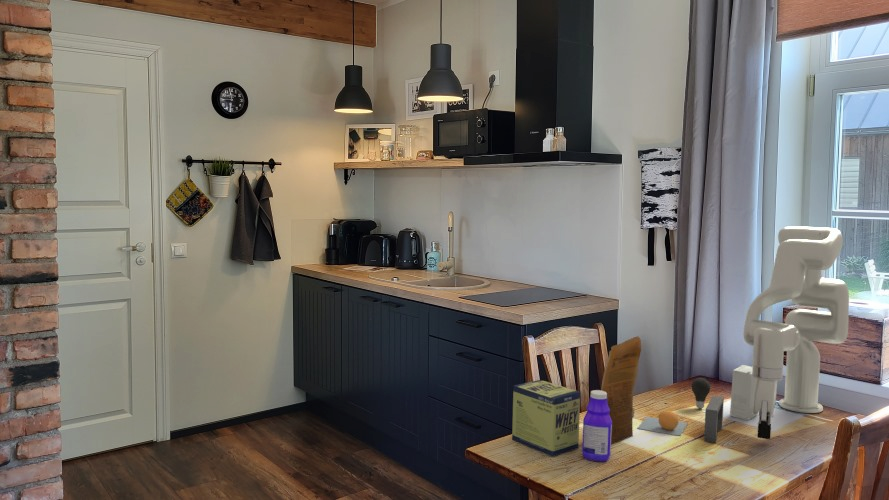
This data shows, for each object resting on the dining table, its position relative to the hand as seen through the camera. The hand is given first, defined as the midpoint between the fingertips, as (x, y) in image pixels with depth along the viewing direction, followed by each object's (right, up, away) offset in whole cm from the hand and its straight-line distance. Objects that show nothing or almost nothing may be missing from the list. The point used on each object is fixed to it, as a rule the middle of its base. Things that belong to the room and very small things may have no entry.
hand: (763, 437), depth 193 cm
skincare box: (+5, 0, +24) cm, 24 cm away
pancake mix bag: (-40, -1, +2) cm, 40 cm away
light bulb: (-7, +1, +30) cm, 31 cm away
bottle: (-49, -2, -12) cm, 50 cm away
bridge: (-11, -1, +6) cm, 13 cm away
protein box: (-60, -1, -3) cm, 61 cm away
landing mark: (-24, 0, +13) cm, 27 cm away
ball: (-23, +2, +10) cm, 25 cm away
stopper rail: (-33, 0, +18) cm, 38 cm away
